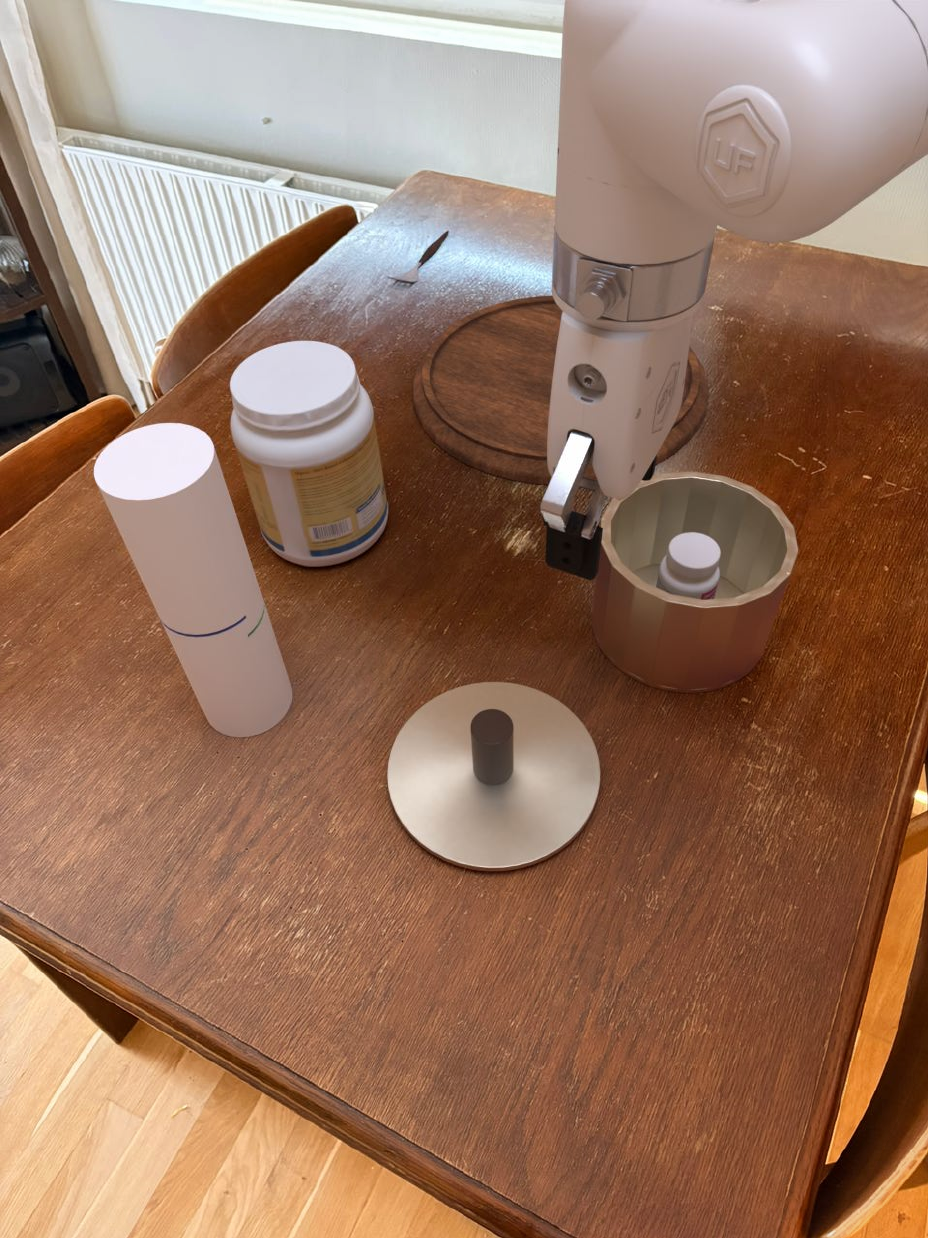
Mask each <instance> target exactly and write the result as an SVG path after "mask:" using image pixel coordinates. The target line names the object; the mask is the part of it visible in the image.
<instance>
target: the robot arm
mask: <svg viewBox="0 0 928 1238" xmlns="http://www.w3.org/2000/svg"><path fill="white" fill-rule="evenodd" d="M563 7H564V8H563V18H562V19H563V20H562V36H561V57H560V58H561V59H560V81H559V82H560V84H559V105H558V107H559V110H558V132H557V135H558V136H557V151H556V152H557V153H556V175H555V176H556V179H555V180H556V181H555V200H554V201H555V204H554V205H555V206H554V226H553V245H552V248H553V249H552V270H551V271H552V272H551V274H552V275H551V296H553V298H554V300H555V302H556V304H557V305H558V306H559V307H560V309H561V310H562V311H563V312H562V317H561V323H560V329H559V335H558V342H557V349H556V356H555V364H554V371H553V380H552V389H551V398H550V409H549V420H548V436H547V463H548V470H549V473H550V475H551V477H552V478H551V481H550V483H549V485H548V486H547V488H546V490H545V493H544V495H543V497H542V499H541V503H540V509H539V510H540V513H541V517H542V520H543V523H542V524H543V526H544V527H546V534H545V535H546V536H545V557H544V561H545V565H547V566H548V567H549V568H553V569H555V570H558V571H561V572H564V573H567V574H570V575H573V576H576V577H579V578H582V579H584V580H588V581H593V580H594V581H595V577H596V575H597V573H598V568H599V559H600V551H601V542H602V533H603V528H601V527H600V525H599V522H600V520H601V517H602V516H601V515H602V512H603V509H604V506H605V503H606V499H607V497H608V498H612V499H613V498H615V499H616V500H622V499H624V498H626V497H628V496H629V495H631V494H632V493H633V492H634V491H635V489H636V488H637V486H638V485H639V483H640V482H641V480H643V481H649V480H650V479H651V478H652V476H655V471H656V466H657V465H656V459H657V453H658V451H659V449H660V448H661V446H662V444H663V442H664V441H665V439H666V437H667V435H668V433H669V432H670V430H671V428H672V426H673V424H674V422H675V420H676V418H677V416H678V413H679V410H680V407H681V403H682V397H683V391H684V383H685V376H686V368H687V360H688V353H689V346H690V344H691V337H692V328H693V320H694V314H695V313H697V312H698V310H699V309H700V307H701V306H702V305H703V301H704V299H705V295H706V288H707V283H708V276H709V272H710V266H711V260H712V256H713V251H714V250H713V249H714V244H715V240H716V239H715V238H716V234H717V229H718V226H719V228H722V229H723V230H725V231H728V232H730V233H731V234H734V235H736V236H738V237H741V238H743V239H747V240H750V241H754V242H758V243H767V244H779V243H789V242H793V241H797V240H801V239H803V238H806V237H809V236H811V235H814V234H815V233H818V232H819V231H821V230H823V229H825V228H826V227H828V226H830V225H831V224H833V223H835V222H836V221H838V219H840V218H842V217H843V216H844V215H845V214H847V213H849V212H850V211H851V210H853V209H854V208H855V207H857V206H859V204H862V202H864V201H865V200H867V199H868V198H870V196H872V195H874V194H875V193H877V192H878V191H879V190H880V189H881V188H882V187H884V186H885V185H887V184H888V183H890V182H891V181H892V180H893V179H895V178H896V177H898V176H899V175H900V174H902V173H903V172H904V171H906V170H907V169H909V168H910V167H912V166H913V165H914V164H915V163H918V162H919V161H920V160H921V159H923V158H924V157H926V156H927V155H928V0H760V1H757V0H564V6H563ZM588 464H591V465H592V466H593V469H594V472H595V475H596V477H597V480H596V479H592V478H589V477H586V476H584V473H585V471H586V469H587V466H588ZM579 488H581V489H585V490H587V491H591V492H592V494H591V498H590V502H589V504H588V507H587V510H586V514H584V513H581V512H577V511H574V509H575V506H574V505H575V504H574V503H575V497H576V495H577V493H578V490H579Z"/></svg>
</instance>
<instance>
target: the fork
mask: <svg viewBox="0 0 928 1238" xmlns="http://www.w3.org/2000/svg"><path fill="white" fill-rule="evenodd" d="M449 233H450V231H449V230H446V231H445V232H444V233H443V234H441V235H440V237H438V238H437V239H436V240H435V241H433V243H431V244H430V245H429V246H428V247H427V248H426V250H425V251H424V253H423V254H422V256H421V257H420V259H418V262H417V263H416V265H414V266H413V267H412V268H411V269H410V270H408V271H407V272H405V273H403V274H402V275H399V276H398V277H391V276H389V275H388V276H386V277H387V279H390V280H395V281H400V282H405V283H416V282H418V281H419V267H421V266H422V265H423V264H424V263H425V262H426V261H428V260H429V259H431V258H432V256H434V254H435V253H436V252H437V251H438V249H439V248H440V247H441V244H442V243H443V241H444V240H445V239H446V237H447V236H448V235H449Z"/></svg>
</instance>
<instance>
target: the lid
mask: <svg viewBox="0 0 928 1238" xmlns="http://www.w3.org/2000/svg"><path fill="white" fill-rule="evenodd" d="M386 769H387V770H386V781H387V790H388V794H389V799H390V803H391V806H392V808H393V811H394V813H395V815H396V818H397V819H398V821H399V823H400V824H401V826H402V828H403V829H404V830H405V831H406V832H407V834H408V835H409V836H410V838H412V839H413V841H415V842H416V843H417V844H418V845H419V846H420V847H421V848H423V849H424V850H425V851H427V852H428V853H430V854H431V855H432V856H434V857H437V858H439V859H440V860H442V861H444V862H446V863H449V864H451V865H454V866H457V867H460V868H465V869H468V870H473V871H483V872H505V871H506V872H507V871H512V870H519V869H522V868H526V867H530V866H533V865H536V864H538V863H540V862H543V861H546V860H548V859H549V858H551V857H552V856H554V855H557V853H559V852H561V851H562V850H563V849H564V848H566V847H567V846H569V844H571V843H572V841H574V840H575V839H576V837H578V835H580V833H581V832H582V831H583V829H584V828H585V826H586V825H587V824H588V822H589V820H590V819H591V816H592V815H593V813H594V811H595V810H594V809H595V808H596V804H597V801H598V798H599V792H600V787H601V774H602V773H601V763H600V758H599V754H598V750H597V747H596V745H595V741H594V740H593V737H592V735H591V734H590V732H589V731H588V728H587V727H586V725H585V724H584V723H583V722H582V720H581V718H579V717H578V716H577V715H576V713H574V712H573V711H572V710H571V709H570V708H569V707H568V706H566V705H565V704H564V703H562V702H561V701H560V700H558V699H556V698H555V697H554V696H551V695H550V694H548V693H546V692H544V691H541V690H539V689H537V688H534V687H530V686H527V685H524V684H520V683H514V682H506V681H505V682H504V681H482V682H474V683H470V684H464V685H461V686H457V687H455V688H452V689H450V690H446V691H444V692H442V693H440V694H438V695H437V696H435V697H433V698H431V699H430V700H429V701H427V702H425V703H424V704H423V705H421V706H420V707H419V708H418V709H417V710H415V712H414V713H413V714H412V715H411V716H410V717H409V718H408V719H407V720H406V721H405V723H404V724H403V726H402V727H401V729H400V730H399V732H398V733H397V735H396V737H395V740H394V741H393V744H392V747H391V749H390V752H389V756H388V761H387V768H386Z"/></svg>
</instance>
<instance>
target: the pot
mask: <svg viewBox="0 0 928 1238" xmlns="http://www.w3.org/2000/svg"><path fill="white" fill-rule="evenodd" d="M599 526H600V527H601V528H603V533H602V542H601V551H600V559H599V568H598V573H597V575H596V577H595V579H594V583H593V592H592V603H591V627H592V632H593V635H594V638H595V640H596V641H595V642H596V643H597V645H598V646H599V649H600V650H601V652H602V653H603V654H604V656H605V657H606V658H607V660H609V662H610V663H611V664H612V665H614V666H615V667H616V668H617V669H618V670H619V671H621V672H622V673H624V674H625V675H627V676H628V677H630V678H631V679H633V680H635V681H637V682H638V683H641V684H644V685H647V686H649V687H651V688H655V689H658V690H662V691H665V692H666V691H667V692H671V693H681V694H699V693H707V692H713V691H716V690H720V689H723V688H725V687H729V686H731V685H733V684H735V683H736V682H738V681H740V680H742V679H743V678H744V677H746V676H747V675H748V674H750V672H752V671H753V670H754V668H756V666H757V665H758V663H759V662H760V660H761V659H762V658H763V655H764V653H765V649H766V647H767V644H768V642H769V638H770V636H771V633H772V629H773V627H774V624H775V621H776V618H777V616H778V613H779V609H780V607H781V604H782V601H783V598H784V595H785V592H786V589H787V587H788V583H789V580H790V578H791V574H792V572H793V569H794V567H795V564H796V560H797V556H798V554H799V546H798V540H797V536H796V531H795V527H794V525H793V524H792V522H791V521H790V520H789V518H788V517H787V516H786V513H784V511H783V510H782V508H781V507H780V506H779V505H778V504H777V503H776V502H774V501H773V500H772V499H770V498H769V497H767V496H766V495H765V494H763V493H762V492H760V491H759V490H758V489H756V488H755V487H754V486H752V485H749V484H746V483H744V482H741V481H739V480H737V479H733V478H731V477H728V476H724V475H720V474H714V473H708V472H700V471H692V470H688V471H675V472H662V473H658V474H654V475H653V476H652V478H651V479H650V480H649V481H643V480H641V482H640V483H639V485H638V486H637V488H636V489H635V491H634V492H633V493H632V494H631V495H629V496H628V497H626V498H624V499H622V500H616V499H615V498H612V499H611V501H610V502H609V504H608V505H607V508H606V510H605V511H604V513H603V514H602V516H601V517H600V524H599ZM689 532H694V533H701V534H704V535H706V536H709V537H710V538H712V539H713V540H714V541H715V542H716V543H717V544H718V546H719V548H720V552H721V554H720V560H719V565H718V567H719V570H720V578H719V583H718V587H717V590H716V594H715V598H714V599H708V600H701V599H696V598H690V597H685V596H679V595H674V594H669V593H667V592H665V591H663V590H661V589H659V588H656V584H657V579H658V573H659V568H660V564H661V562H662V560H663V558H664V557H665V556H666V555H667V552H668V547H669V544H670V542H671V540H672V539H673V538H674V537H676V536H678V535H680V534H683V533H689Z"/></svg>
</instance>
